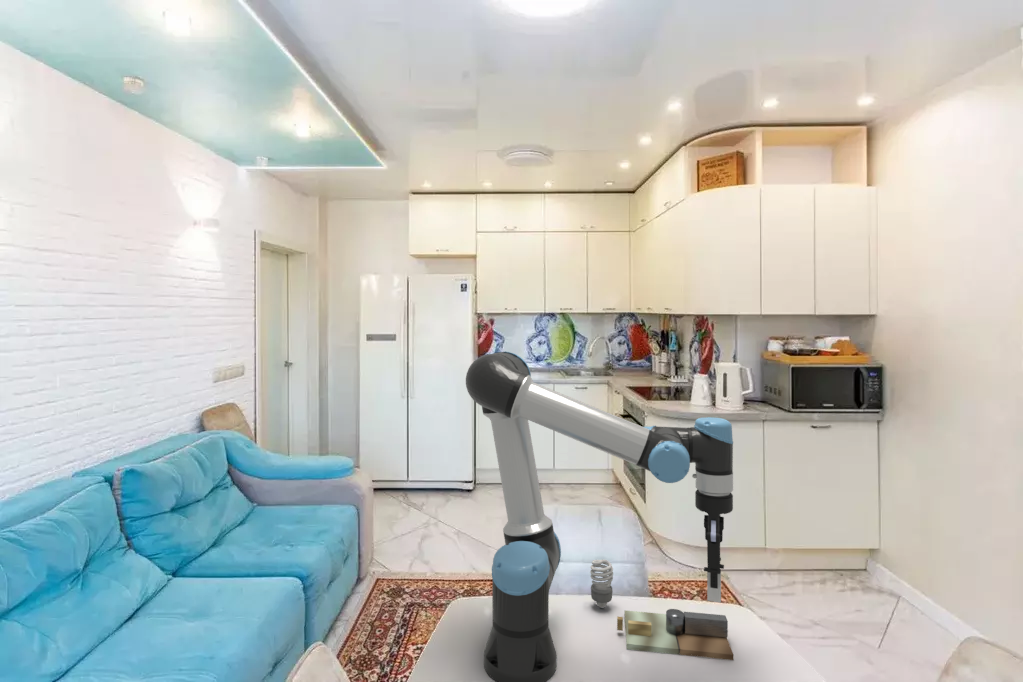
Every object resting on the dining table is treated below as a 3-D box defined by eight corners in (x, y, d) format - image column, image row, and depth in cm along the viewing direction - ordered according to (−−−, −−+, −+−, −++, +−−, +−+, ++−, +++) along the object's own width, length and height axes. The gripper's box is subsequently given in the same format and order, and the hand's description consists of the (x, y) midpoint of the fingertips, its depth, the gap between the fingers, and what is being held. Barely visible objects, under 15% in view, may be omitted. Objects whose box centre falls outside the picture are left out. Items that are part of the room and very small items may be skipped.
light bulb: (612, 602, 137) (612, 556, 136) (613, 614, 131) (614, 565, 131) (589, 601, 137) (590, 554, 137) (590, 612, 132) (590, 564, 131)
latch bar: (667, 634, 120) (667, 617, 120) (665, 624, 124) (665, 608, 124) (728, 640, 118) (728, 623, 118) (724, 629, 122) (724, 613, 122)
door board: (617, 648, 117) (617, 631, 117) (616, 614, 131) (616, 599, 131) (733, 660, 113) (733, 642, 113) (719, 624, 127) (719, 608, 127)
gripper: (696, 481, 122) (697, 583, 123) (693, 498, 110) (693, 611, 111) (732, 484, 120) (732, 589, 120) (733, 502, 108) (733, 618, 108)
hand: (714, 599), depth 116 cm, fingers closed
